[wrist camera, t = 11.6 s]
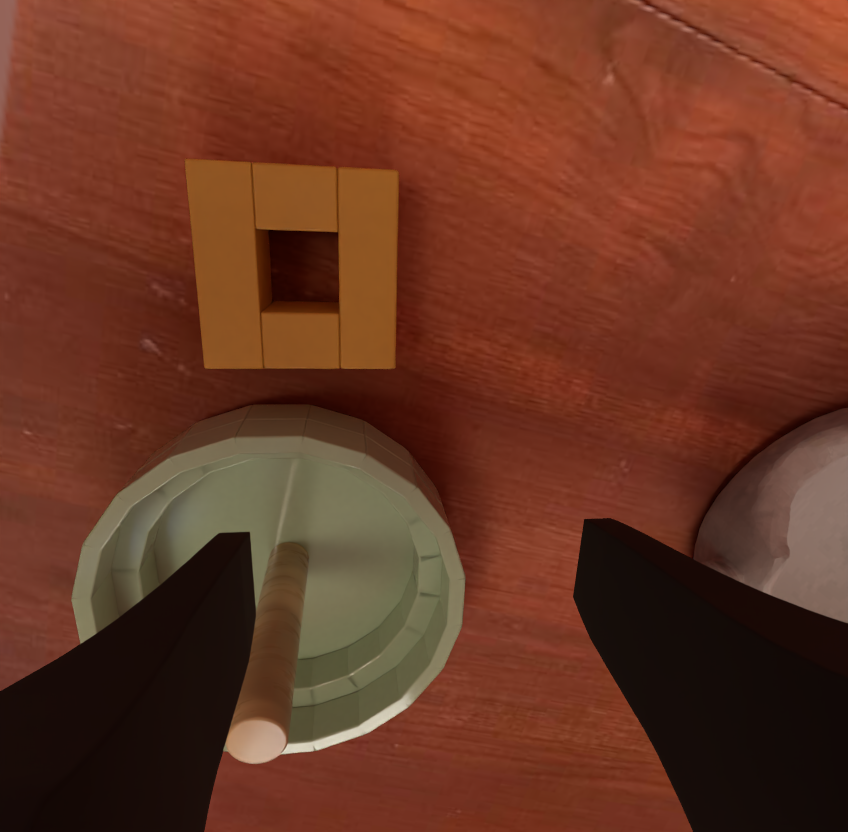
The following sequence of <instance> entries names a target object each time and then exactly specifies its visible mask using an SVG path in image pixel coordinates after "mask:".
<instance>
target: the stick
mask: <svg viewBox="0 0 848 832" xmlns="http://www.w3.org/2000/svg"><path fill="white" fill-rule="evenodd" d="M308 566H309V555H308V552H307V551H306V549H305V548H304V547H303V546H301V545H299V544H297V543H294V542H285V543H282V544H279V545H278V546H276V547H275V548H274V549H273V550H272V551H271V553H270V556H269V560H268V564H267V568H266V572H265V576H264V580H263V584H262V589H261V593H260V597H259V601H258V605H257V609H256V620H255V627H254V634H253V640H252V646H251V652H250V658H249V663H248V667H247V670H246V674H245V677H244V681H243V684H242V688H241V691H240V695H239V698H238V702H237V705H236V709H235V712H234V715H233V719H232V722H231V726H230V729H229V733H228V736H227V739H226V747H227V750H228V751H229V753H230V754H231V755H232V756H233V757H234V758H236V759H237V760H239V761H242V762H245V763H250V764H260V763H265V762H268V761H271V760H273V759H275V758H277V757H278V756H279V755H280V754H281V753H282V752H283V751H284V749H285V748H286V746H287V743H288V738H289V730H290V721H291V712H292V704H293V695H294V687H295V678H296V669H297V661H298V652H299V644H300V635H301V626H302V618H303V609H304V601H305V592H306V583H307V575H308Z"/></svg>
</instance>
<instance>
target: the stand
mask: <svg viewBox="0 0 848 832" xmlns="http://www.w3.org/2000/svg"><path fill="white" fill-rule="evenodd" d="M185 170H186V181H187V191H188V202H189V212H190V223H191V233H192V244H193V254H194V265H195V275H196V286H197V296H198V306H199V317H200V327H201V338H202V348H203V359H204V367H205V368H206V369H263V368H266V369H338V368H340V367H341V368H342V369H394V368H395V366H396V313H397V260H398V207H399V172H398V170H391V169H372V168H354V167H339V168H338V169H337V168H336V167H334V166H316V165H298V164H279V163H260V162H254V163H251V162H244V161H225V160H206V159H187V158H186V159H185ZM269 230H291V231H318V232H338V257H339V302H312V301H273V302H272V283H271V264H270V245H269Z"/></svg>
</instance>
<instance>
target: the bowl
mask: <svg viewBox="0 0 848 832" xmlns="http://www.w3.org/2000/svg"><path fill="white" fill-rule="evenodd" d="M226 532H250V539H251V552H252V565H253V579H254V592H255V605H256V609H257V605H258V601H259V597H260V593H261V589H262V584H263V580H264V576H265V572H266V568H267V564H268V560H269V556H270V553H271V551H272V550H273V549H274V548H275V547H276V546H278V545H279V544H282V543H285V542H294V543H297V544H299V545H301V546H303V547H304V548H305V549H306V551H307V552H308V555H309V566H308V575H307V583H306V592H305V601H304V609H303V618H302V626H301V635H300V644H299V652H298V661H297V669H296V678H295V687H294V695H293V704H292V712H291V721H290V730H289V738H288V743H287V746H286V748H285V749H284V751H283V752H282V753H281V754H291V753H302V752H313V751H315V750H316V751H318V750H321V749H324V748H327V747H330V746H333V745H335V744H338V743H341V742H344V741H347V740H350V739H353V738H356V737H359V736H362V735H365V734H368V733H369V732H371V731H372V730H374V729H376V728H377V727H379V726H380V725H382V724H383V723H385V722H387V721H388V720H390V719H391V718H393V717H394V716H396V715H397V714H399V713H401V712H402V711H404V710H405V709H407V708H408V707H409V706H410V705H411V704H412V703H413V702H414V701H415V700H416V699H417V698H418V696H419V695H420V694H421V693H422V692H423V691H424V690H425V689H426V688H427V686H428V685H429V684H430V683H431V682H432V681H433V680H434V679H435V677H436V676H437V675H438V674H439V673H440V672H441V671H442V669H443V668H444V666H445V663H446V661H447V659H448V657H449V654H450V652H451V650H452V648H453V645H454V643H455V641H456V639H457V636H458V634H459V632H460V630H461V627H462V623H463V609H464V595H465V580H466V578H465V573H464V570H463V566H462V563H461V560H460V557H459V553H458V550H457V547H456V544H455V541H454V537H453V534H452V531H451V528H450V525H449V522H448V519H447V517H446V514H445V511H444V508H443V505H442V502H441V499H440V496H439V494H438V491H437V489H436V487H435V485H434V484H433V483H432V481H431V480H430V479H429V477H428V476H427V475H426V473H425V472H424V471H423V469H422V468H421V467H420V466H419V464H418V463H417V462H416V460H415V459H414V458H413V456H412V455H411V454H410V452H409V451H407V450H406V448H404V447H403V446H401V445H400V444H398V443H397V442H395V441H394V440H392V439H391V438H389V437H388V436H386V435H385V434H384V433H382V432H381V431H379V430H378V429H376V428H375V427H373V426H372V425H370V424H369V423H367V422H366V421H363V420H361V419H358V418H354V417H351V416H348V415H344V414H341V413H338V412H334V411H331V410H327V409H324V408H321V407H317V406H314V405H309V404H287V405H250V406H246V407H243V408H240V409H237V410H234V411H230V412H227V413H224V414H221V415H218V416H214V417H211V418H208V419H205V420H202V421H199V422H197V423H195V424H193V425H192V426H190V427H189V428H188V429H186V430H185V431H183V432H182V433H181V434H179V435H178V436H176V437H175V438H173V439H172V440H171V441H169V442H168V443H166V444H165V445H164V446H162V447H161V448H159V449H158V450H157V451H155V452H154V453H153V454H152V455H151V456H150V457H149V458H148V459H147V460H146V462H145V463H144V464H143V465H142V466H141V467H140V468H139V470H138V471H137V472H136V473H135V474H134V475H133V476H132V477H131V479H130V480H129V481H128V482H127V483H126V484H125V485H124V487H123V488H122V489H121V490H120V491H119V492H118V493H117V494H116V496H115V497H114V498H113V500H112V501H111V503H110V504H109V506H108V507H107V509H106V510H105V512H104V513H103V514H102V516H101V517H100V519H99V520H98V522H97V523H96V525H95V526H94V528H93V529H92V531H91V532H90V533H89V535H88V536H87V538H86V539H85V541H84V544H83V545H82V549H81V554H80V559H79V563H78V568H77V573H76V578H75V583H74V587H73V592H72V604H73V609H74V614H75V619H76V624H77V629H78V634H79V639H80V644H81V643H83V642H84V641H86V640H87V639H89V638H90V637H92V636H93V635H95V634H96V633H98V632H99V631H101V630H102V629H104V628H105V627H106V626H108V625H109V624H111V623H112V622H113V621H115V620H116V619H118V618H119V617H120V616H121V615H123V614H124V613H125V612H127V611H128V610H129V609H130V608H132V607H133V606H134V605H135V604H137V603H138V602H139V601H141V600H142V599H143V598H144V597H146V596H147V595H148V594H149V593H151V592H152V591H153V590H154V589H156V588H157V587H158V586H159V585H161V584H162V583H163V582H164V581H165V580H166V579H168V578H169V577H170V576H171V575H172V574H173V573H174V572H176V571H177V570H178V569H179V568H180V567H181V566H182V565H184V564H185V563H186V562H187V561H188V560H189V559H190V558H191V557H192V556H194V555H195V554H196V553H197V552H198V551H199V550H200V549H201V548H202V547H203V546H205V545H206V544H207V543H208V542H209V541H210V540H211V539H212V538H213V537H215V536H216V535H217V534H218V533H226ZM223 751H225V752H229V751H228V750H227V747H226V743H225V746H224V750H223ZM281 754H280V755H281Z"/></svg>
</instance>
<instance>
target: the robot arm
mask: <svg viewBox="0 0 848 832" xmlns="http://www.w3.org/2000/svg"><path fill="white" fill-rule="evenodd" d="M573 598H574V601H575V603H576V606H577V608H578V611H579V613H580V616H581V618H582V621H583V623H584V625H585V627H586V630H587V632H588V634H589V636H590V638H591V640H592V642H593V644H594V646H595V647H596V649H597V651H598V652H599V654H600V656H601V658H602V659H603V661H604V663H605V664H606V666H607V668H608V670H609V671H610V673H611V675H612V676H613V678H614V680H615V681H616V683H617V685H618V686H619V688H620V690H621V691H622V693H623V695H624V696H625V698H626V700H627V701H628V703H629V705H630V707H631V708H632V710H633V712H634V713H635V715H636V717H637V718H638V720H639V722H640V723H641V725H642V727H643V728H644V730H645V732H646V734H647V735H648V737H649V739H650V741H651V743H652V745H653V746H654V748H655V750H656V752H657V754H658V756H659V758H660V760H661V762H662V765H663V767H664V769H665V771H666V773H667V775H668V777H669V779H670V781H671V784H672V786H673V788H674V790H675V792H676V794H677V796H678V798H679V801H680V803H681V805H682V807H683V809H684V812H685V814H686V816H687V819H688V821H689V823H690V825H691V828H692V830H693V832H848V623H845V622H842V621H839V620H836V619H833V618H830V617H827V616H824V615H822V614H819V613H816V612H813V611H810V610H807V609H805V608H802V607H800V606H797V605H795V604H792V603H789V602H787V601H784V600H782V599H779V598H777V597H774V596H772V595H769V594H767V593H764V592H762V591H760V590H757V589H755V588H753V587H750V586H748V585H746V584H744V583H742V582H739V581H737V580H735V579H733V578H731V577H729V576H727V575H724V574H722V573H720V572H718V571H716V570H714V569H712V568H710V567H708V566H706V565H704V564H702V563H700V562H698V561H696V560H694V559H692V558H690V557H688V556H686V555H684V554H682V553H680V552H678V551H676V550H674V549H673V548H671V547H669V546H667V545H665V544H663V543H661V542H659V541H657V540H655V539H653V538H651V537H650V536H648V535H646V534H644V533H642V532H640V531H638V530H636V529H634V528H632V527H630V526H628V525H626V524H623V523H621V522H619V521H616V520H614V519H611V518H603V519H584V525H583V532H582V539H581V546H580V553H579V560H578V567H577V573H576V580H575V587H574V594H573ZM255 620H256V605H255V592H254V579H253V565H252V552H251V539H250V532H226V533H218V534H217V535H216V536H215V537H213V538H212V539H211V540H210V541H209V542H208V543H207V544H206V545H205V546H203V547H202V548H201V549H200V550H199V551H198V552H197V553H196V554H195V555H194V556H192V557H191V558H190V559H189V560H188V561H187V562H186V563H185V564H184V565H182V566H181V567H180V568H179V569H178V570H177V571H176V572H174V573H173V574H172V575H171V576H170V577H169V578H168V579H166V580H165V581H164V582H163V583H162V584H161V585H159V586H158V587H157V588H156V589H154V590H153V591H152V592H151V593H149V594H148V595H147V596H146V597H144V598H143V599H142V600H141V601H139V602H138V603H137V604H135V605H134V606H133V607H132V608H130V609H129V610H128V611H127V612H125V613H124V614H123V615H121V616H120V617H119V618H118V619H116V620H115V621H113V622H112V623H111V624H109V625H108V626H106V627H105V628H104V629H102V630H101V631H99V632H98V633H96V634H95V635H93V636H92V637H90V638H89V639H87V640H86V641H84V642H83V643H81V644H80V645H78V646H77V647H75V648H74V649H72V650H71V651H69V652H68V653H66V654H64V655H63V656H61V657H59V658H58V659H56V660H54V661H53V662H51V663H49V664H47V665H46V666H44V667H42V668H40V669H39V670H37V671H35V672H33V673H32V674H30V675H28V676H26V677H25V678H23V679H21V680H19V681H18V682H16V683H14V684H12V685H11V686H9V687H7V688H5V689H4V690H2V691H0V832H204V830H205V824H206V819H207V814H208V809H209V804H210V799H211V794H212V790H213V786H214V782H215V778H216V774H217V770H218V767H219V763H220V760H221V757H222V753H223V750H224V746H225V743H226V739H227V736H228V733H229V729H230V726H231V722H232V719H233V715H234V712H235V709H236V705H237V702H238V698H239V695H240V691H241V688H242V684H243V681H244V677H245V674H246V670H247V667H248V663H249V658H250V652H251V646H252V640H253V634H254V627H255Z"/></svg>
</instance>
